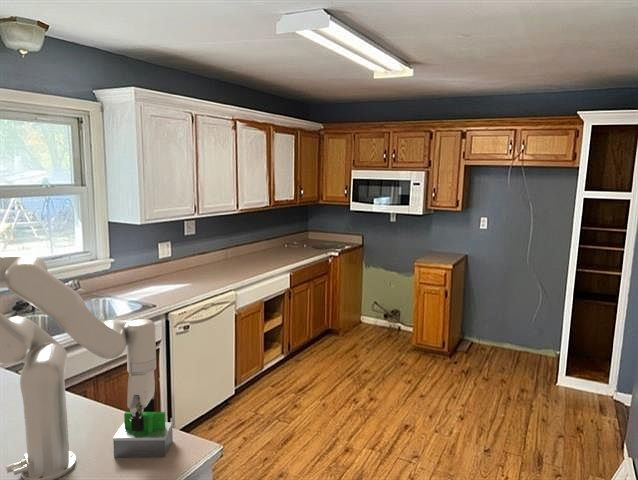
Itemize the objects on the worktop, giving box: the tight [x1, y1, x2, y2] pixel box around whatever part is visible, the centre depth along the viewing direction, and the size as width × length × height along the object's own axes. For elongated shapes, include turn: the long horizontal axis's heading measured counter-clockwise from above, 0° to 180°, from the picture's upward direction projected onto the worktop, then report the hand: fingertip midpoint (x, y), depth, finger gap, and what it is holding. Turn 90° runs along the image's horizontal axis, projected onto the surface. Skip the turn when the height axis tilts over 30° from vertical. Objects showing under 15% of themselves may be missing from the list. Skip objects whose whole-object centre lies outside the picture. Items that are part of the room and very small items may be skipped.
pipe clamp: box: [123, 411, 166, 433], centre depth 133 cm, size 11×4×5 cm, turn 93°
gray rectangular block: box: [112, 421, 174, 459], centre depth 133 cm, size 14×8×6 cm, turn 93°
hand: (143, 421), depth 132 cm, fingers open, 9 cm apart
